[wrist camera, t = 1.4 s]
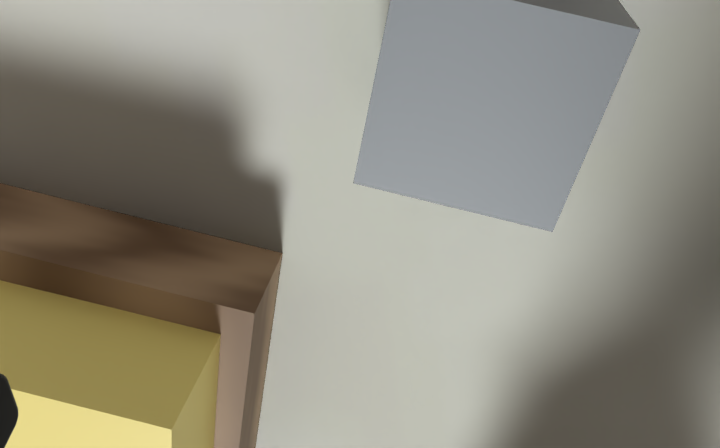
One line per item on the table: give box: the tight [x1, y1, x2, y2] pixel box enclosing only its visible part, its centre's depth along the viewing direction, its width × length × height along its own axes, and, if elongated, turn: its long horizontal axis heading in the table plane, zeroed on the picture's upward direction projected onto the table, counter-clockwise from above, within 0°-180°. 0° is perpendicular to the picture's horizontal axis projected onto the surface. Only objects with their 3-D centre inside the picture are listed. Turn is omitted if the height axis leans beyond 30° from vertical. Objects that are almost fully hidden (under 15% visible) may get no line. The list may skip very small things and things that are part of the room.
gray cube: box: [353, 0, 640, 232], centre depth 16 cm, size 5×5×5 cm
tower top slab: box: [0, 280, 221, 448], centre depth 22 cm, size 10×10×4 cm
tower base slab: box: [0, 183, 282, 448], centre depth 26 cm, size 12×12×4 cm
